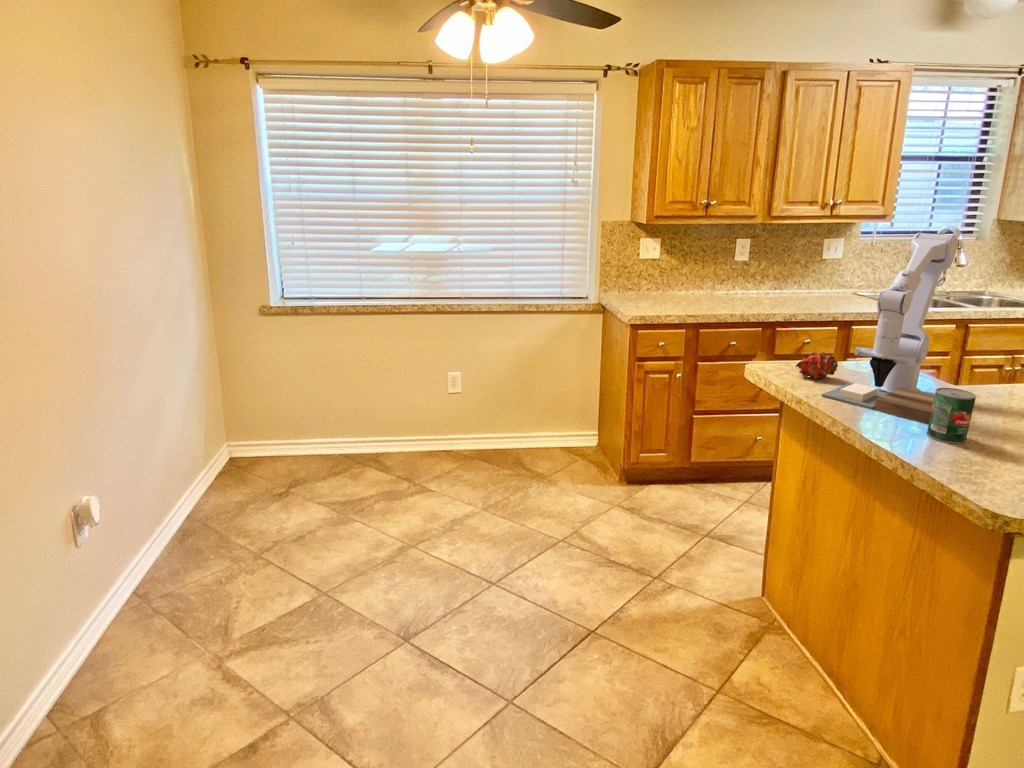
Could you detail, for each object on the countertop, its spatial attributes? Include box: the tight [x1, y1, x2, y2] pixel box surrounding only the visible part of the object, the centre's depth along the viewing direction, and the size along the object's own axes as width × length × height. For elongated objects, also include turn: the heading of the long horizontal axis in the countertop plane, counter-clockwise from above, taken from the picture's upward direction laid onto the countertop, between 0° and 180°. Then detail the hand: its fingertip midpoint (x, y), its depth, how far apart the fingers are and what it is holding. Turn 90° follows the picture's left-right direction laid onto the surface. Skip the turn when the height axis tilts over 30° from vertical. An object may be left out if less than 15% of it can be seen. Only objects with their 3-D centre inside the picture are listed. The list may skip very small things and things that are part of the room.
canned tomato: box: [926, 387, 977, 445], centre depth 155 cm, size 8×8×11 cm
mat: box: [821, 383, 889, 410], centre depth 184 cm, size 16×14×1 cm
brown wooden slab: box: [873, 388, 935, 425], centre depth 174 cm, size 16×14×3 cm
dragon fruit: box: [795, 351, 839, 380], centre depth 201 cm, size 8×8×12 cm
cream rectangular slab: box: [839, 382, 879, 402], centre depth 183 cm, size 9×6×2 cm, turn 130°
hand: (878, 386), depth 179 cm, fingers closed
